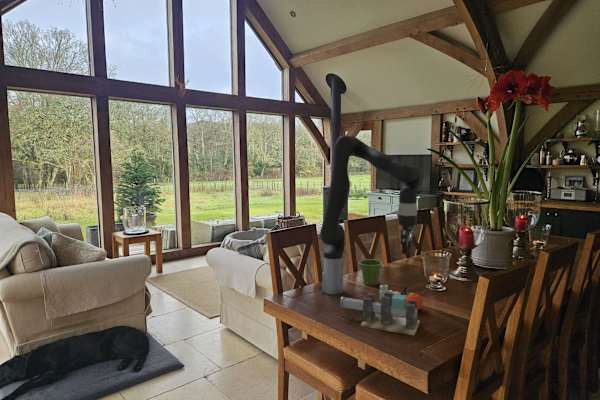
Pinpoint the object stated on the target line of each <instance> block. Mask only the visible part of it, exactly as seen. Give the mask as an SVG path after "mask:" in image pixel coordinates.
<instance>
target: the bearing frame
mask: <svg viewBox="0 0 600 400" xmlns="http://www.w3.org/2000/svg"><path fill="white" fill-rule="evenodd" d="M392 297H393V293H390V292H385V293H384V296H382V297H381V300H380V303H381V313H376V312H372V302H376V293H372V292H371V293H369V292H367V294H366V297H363V298H362V300H363V310H362V322H361V323H360V326H361V327H363V328H364V327H366V328H371V329H375V330H381V331H386V332H393V333H398V334H405V335H409V336H415V334H416V333H417V330H418V328H419V326H420V322H421V321H420V320H419V319H418V313H417V316H416V318H415V308H417V312H419V311H418V310H419V309H418V300H413V299H409V304H406V317H401V316H395V315H390V304H392Z"/></svg>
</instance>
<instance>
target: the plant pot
mask: <svg viewBox="0 0 600 400" xmlns="http://www.w3.org/2000/svg"><path fill="white" fill-rule="evenodd" d="M358 263H359V266H360V269H361V274H362V279H363V284H364V285H366V286H377V285H378V284H379V281H380V273H381V268H382V265H383V261H381V260H379V259H372V258H371V259H362V260H360V261H358Z"/></svg>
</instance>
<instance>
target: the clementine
mask: <svg viewBox="0 0 600 400" xmlns="http://www.w3.org/2000/svg"><path fill="white" fill-rule="evenodd" d="M406 295H407V303H406V304H409V299H413V300H418V310H420V309H421V308H422V306H423V302H424V301H423V298H422V297H421V295H419V294H418V293H414V292H407V294H406Z"/></svg>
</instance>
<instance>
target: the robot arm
mask: <svg viewBox="0 0 600 400" xmlns="http://www.w3.org/2000/svg"><path fill="white" fill-rule="evenodd" d="M334 144H335V145H334V152H333V153H334V154H333V166H332V171H331V172H332V174H331V180H330V184H329V189H328V190H329V191H328V197H327V202H326V203H327V204H326V206H325V207H326V208H325V214H324V218H323V221H322V225H321V228H320V235H319V236H320V240H321V242H323V244H325V245H326V248H325V249H324V250H323V272H322V273H321V279H322V280H321V284H322V285H321V287H322V293H325V294H327V295H340V294H342V293H343V292H344V264H343V263H344V261H343V257H344V255H343V254H344V252H345V245H346V244H345V241H346V240H345V239H346V238H345V237H346V232H345V229H344V227H343V226H342V225H341V224H340V223H339V219H340V216H341V214H342V211H344V209H345V207H346V205H347V202H348V200H349V195H350V190H351V189H350V188H351V181H350V176H349V172H348V169H349V168H348V167H349V160H350V157H356V158H359V159H362V160H365V161H366V162H367V163H368V164H369V163H370V165H372V166H373V167H374V168H376V169H378V170H380V171H382V172H383V173H386V174H387V175H390V176H391V177H392V178H394V179H395V180H397V181H398V182H401V183H403V185H402V188H401V189H400V191H399V192H398V193H399V194H398V196H399V197H398V198H399V199H398V208H397V209H398V210H397V211H398V212H397V213H398V215H397V224H398V225H399V226H402V227H403V228H402V229H401V230H400V245H401V254H402V255H408V254H409V253H408V252H409V251H411V249H412V240H413V238H414V237H413V232H414V231H413V230H414V228H413V227H416V226H417V224H418V205H417V204H418V203H417V202H418V201H417V200H418V199H417V197H418V189H419V186H420V180H421V171H420V169H419V168H418V166H416V165H413V164H409V165H407V164H404V163H402V162H400V160H398V159H397V158H395V157H393V156H391V155H389V154H386V153H384V152H382V151H379V150H376V149H375V148H373V147H371V146H369V145H368V144H366V143H365V142H364V141H362V140H361V139H359V138H358V137H356V136H352V135H340V136H339V137H338V138H337V139H336V141H335V143H334Z"/></svg>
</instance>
